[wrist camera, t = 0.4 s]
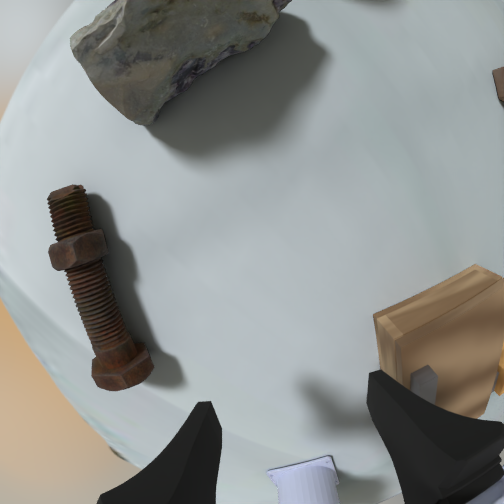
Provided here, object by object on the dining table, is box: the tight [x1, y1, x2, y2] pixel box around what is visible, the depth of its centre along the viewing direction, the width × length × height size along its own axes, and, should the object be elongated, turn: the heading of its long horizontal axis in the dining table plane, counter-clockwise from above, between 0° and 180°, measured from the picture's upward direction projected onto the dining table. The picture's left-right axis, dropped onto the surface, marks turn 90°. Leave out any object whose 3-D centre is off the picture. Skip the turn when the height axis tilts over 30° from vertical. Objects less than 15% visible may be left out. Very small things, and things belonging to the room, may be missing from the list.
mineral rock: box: [70, 0, 292, 125], centre depth 11 cm, size 13×11×10 cm
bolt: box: [47, 185, 154, 391], centre depth 18 cm, size 6×5×15 cm
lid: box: [395, 278, 504, 419], centre depth 18 cm, size 18×13×5 cm
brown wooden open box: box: [373, 264, 502, 382], centre depth 20 cm, size 18×12×4 cm, turn 20°
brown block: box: [494, 343, 504, 396], centre depth 20 cm, size 4×4×6 cm
